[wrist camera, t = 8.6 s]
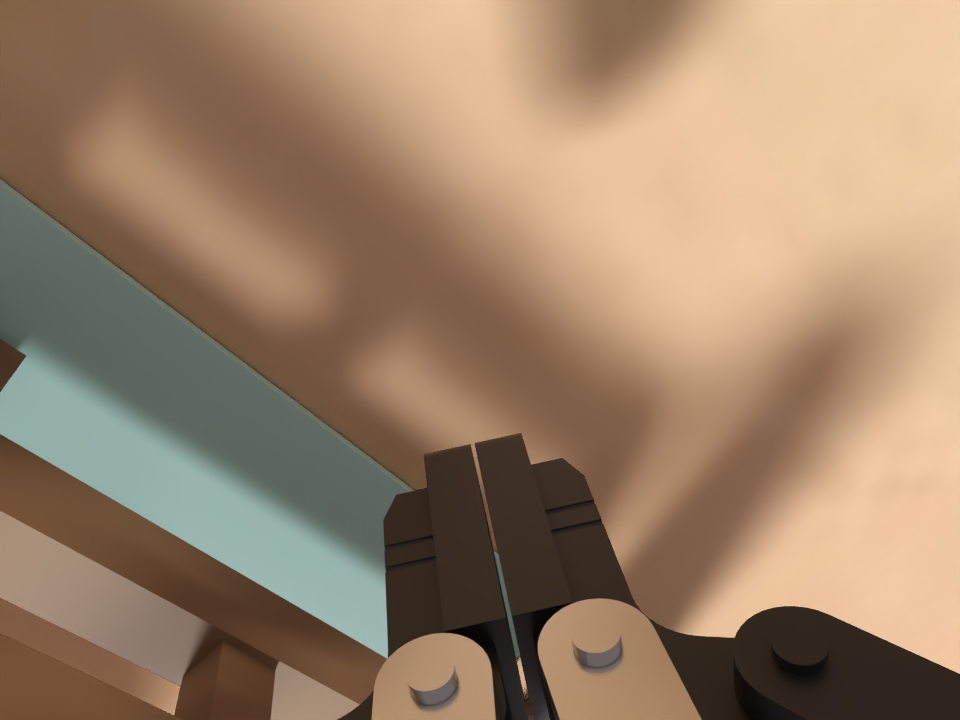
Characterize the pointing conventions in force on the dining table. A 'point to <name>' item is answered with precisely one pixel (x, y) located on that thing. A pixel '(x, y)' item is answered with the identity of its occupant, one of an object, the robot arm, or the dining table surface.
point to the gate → (152, 612)
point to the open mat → (187, 430)
